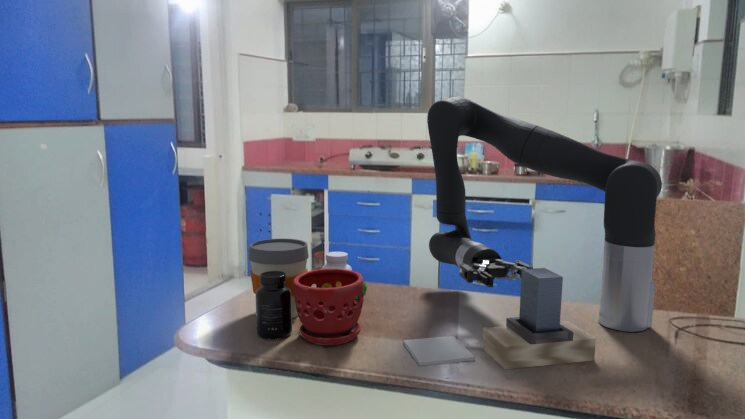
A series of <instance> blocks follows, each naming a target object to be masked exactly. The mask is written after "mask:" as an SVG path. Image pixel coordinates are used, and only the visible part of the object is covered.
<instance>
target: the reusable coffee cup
mask: <svg viewBox="0 0 745 419" xmlns="http://www.w3.org/2000/svg"><path fill="white" fill-rule="evenodd" d="M248 250H249V251H248V260H249V261H250V266H251V270H250V271H249V272H250V273H249V274H250V280H251V286H252V292H253V293H254V294H255V295H256V291H257V289H258V288H259V287H261V286H262V285H260V275H261V274H262V273H264V272H268V271H281V272H284V273H285V274H286V284H285V285H286V286H288V287H289V288H290V290H291V296H292V319H293V318H296V317H298V314H297V310H296V303H295V298H294V284H293V281H294V279H295V278H296V277H297V276H298V275H300V274H302V273H305V272H308V268H307V264H308V259H309V257H310V256H309V249H308V243H307V241H304V240H302V239H296V238H267V239H261V240H256V241H254V242H252V243H250V244H249V249H248Z"/></svg>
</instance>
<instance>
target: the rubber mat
mask: <svg viewBox="0 0 745 419" xmlns="http://www.w3.org/2000/svg"><path fill="white" fill-rule="evenodd" d="M402 343H403V345H404V346H405V348H406V349H407V351H408V352H409V353H410V354H411V356H412V357H413V358H414V360H415V361H416V363H417V364H418V365H419V366H430V365H431V366H432V365H440V364H451V363H452V364H453V363H462V362H473V361H475V360H476V357H475V355H473V353H471V351H469V350H468V348H466V347H465V346H464V344H463V343H461V342H460V340H458V338H456V337H455V336H454V335H450V336H449V335H448V336H438V337H427V338H415V339H404V340H403V339H402Z"/></svg>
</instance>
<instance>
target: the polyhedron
mask: <svg viewBox="0 0 745 419" xmlns="http://www.w3.org/2000/svg"><path fill="white" fill-rule="evenodd" d="M363 286H364V295H363V298H364V297H365V296H366V293H367V289H368V286H367V284H366V282H365V281H364V280H363ZM355 301H358V295H357V296H356V297H355Z"/></svg>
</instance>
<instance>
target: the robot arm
mask: <svg viewBox="0 0 745 419" xmlns="http://www.w3.org/2000/svg"><path fill="white" fill-rule="evenodd" d="M426 118H427V121H426V122H427V129H428V135H429V141H430V146H431V147H430V148H431V153H432V160H433V167H434V175H435V189H436V190H435V191H436V192H435V196H436V198H435V201H436V202H435V203H436V204H435V205H436V211H435V212H436V215H435V216H436V219H437V221H438V222H439V223H441V224H444V225H448V226H454V229H453V230H446V231H439V232H435V233H434V234H433V235H431V237H430V239H429V241H428V248H429V252H430V253H431V254H430V255H431V256H432V258H434V259H435V260H436V261H438V262H440V263H444V264H447V265H453V266H456V267H458V268H459V276H460V277H461V278H462V279H464V281H466V283H469V284H471V283H474V281H476V283H477V284H483V285H485V286H486V287H488V288H493V287H494V280H495V279H496V280H501V279H503V280H509V281H514V280H519V281H521V275H522V269H534V266H532V265H531V264H527V263H526V262H524V261H521V260H514V262H510V261H505V260H504V259H503V258H502V257H501V255H500V253H499V252H498V251H496V250H494V249H492V248H491V247H490V246H487V245H485V244H483V243H481V242H478V241H475V240H473V239H472V235H471V232H470V229H469V226H468V221H467V216H466V215H467V214H466V187H465V186H466V185H465V181H464V178H463V176H462V173H461V169H460V165H459V161H458V143H459V138H460V137H461V136H463V137H468V138H469V137H470V138H472V139H476V140H478V141H482V142H484V143H487V144H489V145H491V146H492V147H494V148H495V149H497V151H499V152H500V153H501V154H503V156H504V157H506V158H507V159H508V160H510V161H512V162H514V163H515V164H517V165H520V166H521V167H523V168H526V169H528V170H532V171H534V172H537V173H539V174H543V175H547V176H550V177H555V178H559V179H565V180H570V181H573V182H574V181H575V182H579V183H583V184H586V185H588V186H591V187H593V188H596V189H598V190H601V191H602V192H604V205H603V206H604V207H603V208H604V209H603V229H604V243H603V244H604V245H603V246H604V247H603V257H602V259H603V260H602V270H601V272H602V273H601V285H600V295H599V296H600V298H599V310H598V311H599V312H598V322H599V324H600V325H602V326H604V327H606V328H609V329H611V330H615V331H621V332H630V333H634V332H635V333H636V332H643V331H645V330H647V329H648V328H652V327H653V326H652V325H653V316H654V307H655V295H656V294H655V291H656V282H655V280H653V279H652V278H653V267H654V266H653V265H654V255H655V243H656V236H657V235H656V225H655V224H656V223H655V222H656V210H657V209H656V208H657V198H658V197H659V195H660V193H661V192H662V188H663V187H662V186H663V181H662V178H661V175H660V174H659V172H658V171H657V169H656V168H655V167H654V166H653V165H651V164H649V163H646V162H643V161H639V160H634V159H630V158H625V157H621V156H618V155H613V154H610V153H606V152H602V151H600V150H597V149H595V148H592V147H590V146H588V145H586V144H584V143H582V142H580V141H578V140H575V139H574V138H570V137H568V136H565V135H563V134H561V133H559V132H557V131H554V130H550V129H548V128H545V127H542V126H539V125H536V124H533V123H529V122H527V121H523V120H521V119H518V118H514V117H511V116H508V115H503V114H501V113H498V112H495V111H493V110H491V109H489V108H486V107H485V106H482V105H481V104H478V103H477V102H476V101H475V102H474V101H472V100H471V99H468V98H466V97H463V96H451V97H448V98H443V99H440V100H438V101H436V102H433V104H432V105H431V106H430V107H429V109H428V112H427V117H426ZM509 274H510V275H509Z"/></svg>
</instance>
